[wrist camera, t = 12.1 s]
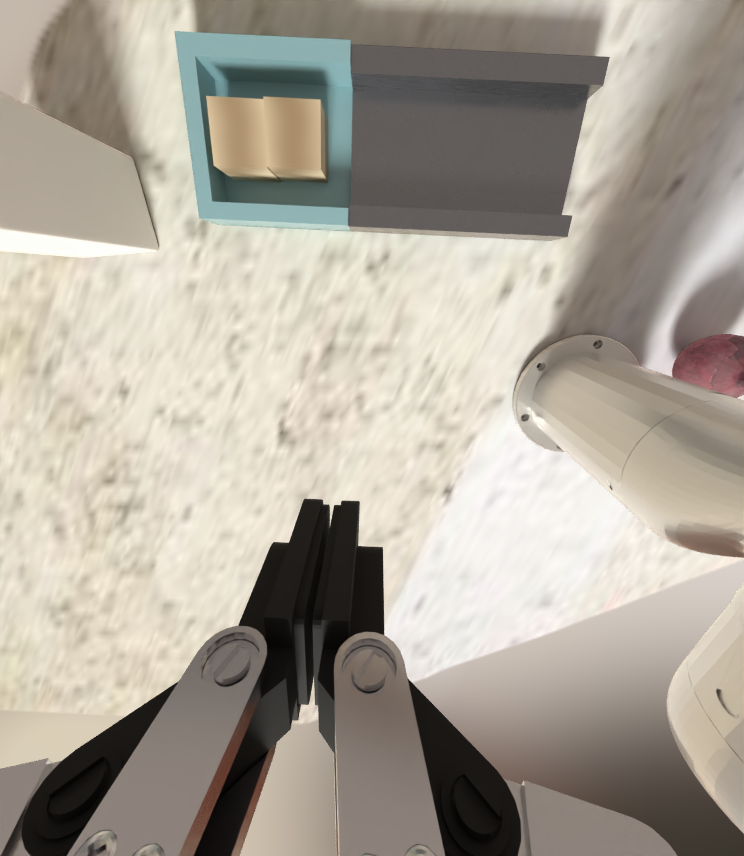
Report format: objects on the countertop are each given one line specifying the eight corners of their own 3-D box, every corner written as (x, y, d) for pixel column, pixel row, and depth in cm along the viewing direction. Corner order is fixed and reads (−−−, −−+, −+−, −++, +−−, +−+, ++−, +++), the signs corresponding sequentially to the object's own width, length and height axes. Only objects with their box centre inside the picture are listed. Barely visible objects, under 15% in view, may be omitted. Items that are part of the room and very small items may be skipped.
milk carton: (87, 258, 32) (-255, 231, 15) (54, 166, 30) (-416, 0, 12) (161, 251, 32) (-101, 216, 14) (134, 157, 29) (-230, -27, 12)
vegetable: (641, 387, 36) (730, 424, 27) (664, 327, 34) (770, 344, 25) (698, 391, 36) (807, 428, 27) (725, 330, 34) (854, 349, 25)
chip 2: (328, 123, 28) (320, 99, 24) (328, 183, 29) (321, 169, 26) (278, 120, 28) (263, 96, 24) (281, 180, 29) (267, 166, 26)
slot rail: (585, 80, 27) (609, 57, 24) (550, 240, 31) (567, 236, 28) (353, 68, 27) (351, 44, 24) (351, 231, 31) (348, 226, 28)
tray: (353, 68, 27) (350, 39, 23) (351, 231, 31) (347, 225, 28) (199, 61, 27) (174, 31, 23) (217, 224, 31) (199, 218, 28)
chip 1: (278, 123, 28) (263, 99, 24) (281, 182, 29) (267, 168, 26) (228, 120, 28) (206, 95, 24) (234, 180, 29) (213, 165, 26)
